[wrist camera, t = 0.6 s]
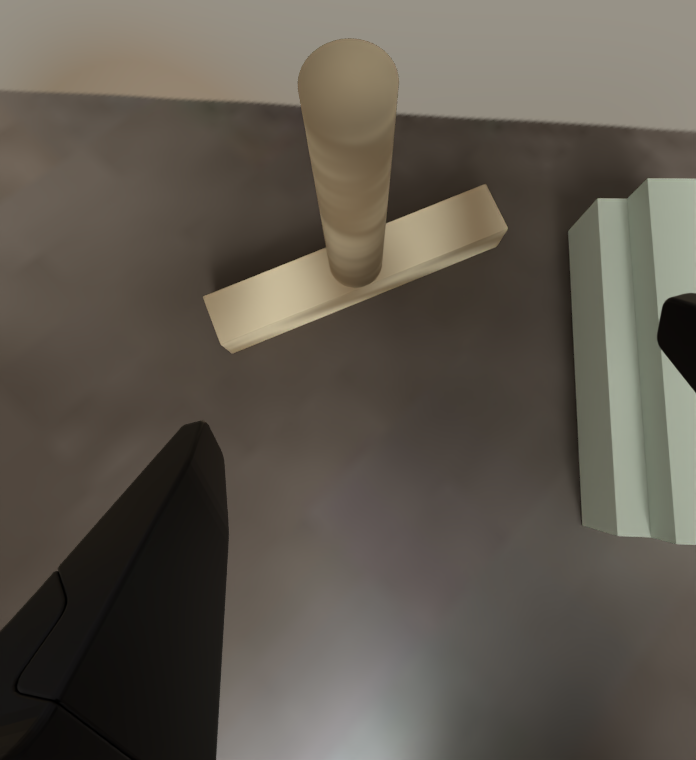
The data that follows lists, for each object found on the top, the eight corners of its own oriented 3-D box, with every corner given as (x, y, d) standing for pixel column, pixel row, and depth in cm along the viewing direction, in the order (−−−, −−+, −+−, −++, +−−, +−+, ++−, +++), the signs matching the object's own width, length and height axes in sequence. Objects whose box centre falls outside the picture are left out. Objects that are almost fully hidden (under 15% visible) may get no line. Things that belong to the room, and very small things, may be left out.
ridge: (697, 529, 21) (786, 548, 17) (582, 525, 21) (639, 542, 17) (672, 232, 23) (744, 179, 19) (568, 231, 24) (615, 177, 19)
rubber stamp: (475, 206, 24) (592, -60, 12) (496, 247, 24) (639, 17, 11) (216, 310, 24) (55, 147, 11) (232, 354, 23) (84, 234, 11)
